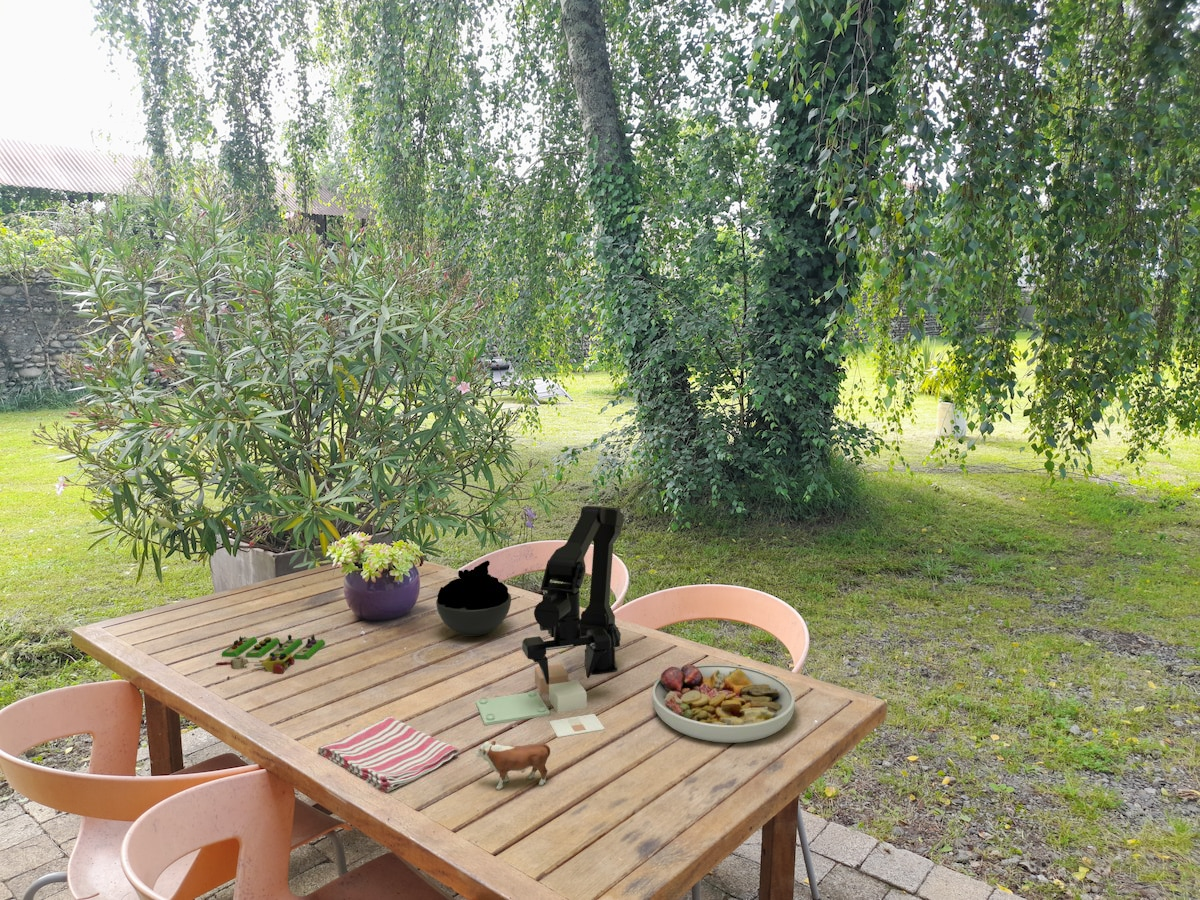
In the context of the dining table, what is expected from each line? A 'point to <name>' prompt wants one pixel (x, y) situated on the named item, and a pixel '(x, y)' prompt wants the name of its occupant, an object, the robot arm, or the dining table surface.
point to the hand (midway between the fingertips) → (567, 680)
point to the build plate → (511, 708)
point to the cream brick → (567, 696)
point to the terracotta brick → (550, 677)
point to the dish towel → (388, 753)
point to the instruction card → (576, 725)
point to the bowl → (722, 702)
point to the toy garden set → (277, 658)
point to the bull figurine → (515, 759)
